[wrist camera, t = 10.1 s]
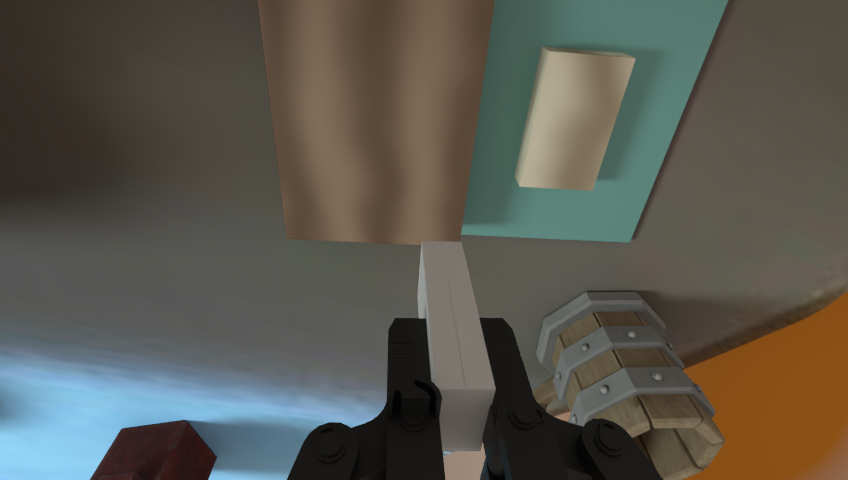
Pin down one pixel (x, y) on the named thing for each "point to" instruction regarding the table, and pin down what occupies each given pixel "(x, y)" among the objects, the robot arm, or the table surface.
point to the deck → (375, 114)
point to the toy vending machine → (157, 454)
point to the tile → (571, 117)
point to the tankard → (627, 380)
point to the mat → (634, 127)
